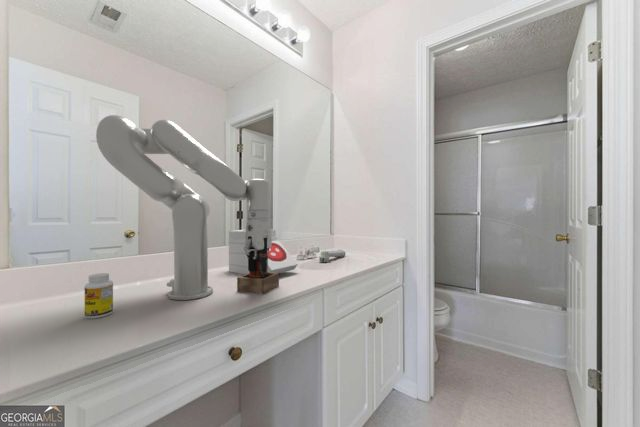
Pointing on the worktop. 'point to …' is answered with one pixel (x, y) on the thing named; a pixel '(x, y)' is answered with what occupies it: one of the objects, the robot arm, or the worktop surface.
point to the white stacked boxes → (276, 258)
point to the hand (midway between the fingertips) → (258, 268)
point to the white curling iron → (330, 255)
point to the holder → (257, 283)
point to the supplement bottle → (98, 296)
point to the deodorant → (261, 263)
